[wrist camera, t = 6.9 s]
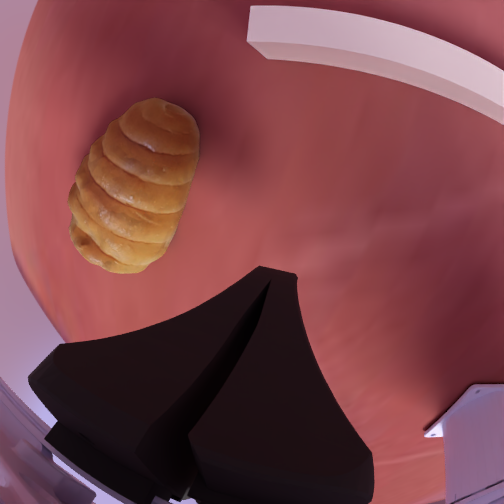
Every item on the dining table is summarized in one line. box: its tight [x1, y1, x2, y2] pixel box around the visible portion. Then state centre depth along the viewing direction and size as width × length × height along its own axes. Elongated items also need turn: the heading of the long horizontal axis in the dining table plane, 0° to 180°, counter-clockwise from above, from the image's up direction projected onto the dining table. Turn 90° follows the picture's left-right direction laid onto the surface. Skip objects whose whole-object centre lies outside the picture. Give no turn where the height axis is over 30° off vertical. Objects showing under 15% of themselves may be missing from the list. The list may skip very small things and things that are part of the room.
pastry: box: [68, 98, 200, 274], centre depth 13 cm, size 9×7×4 cm
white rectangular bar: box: [247, 6, 504, 125], centre depth 7 cm, size 14×2×3 cm, turn 85°
